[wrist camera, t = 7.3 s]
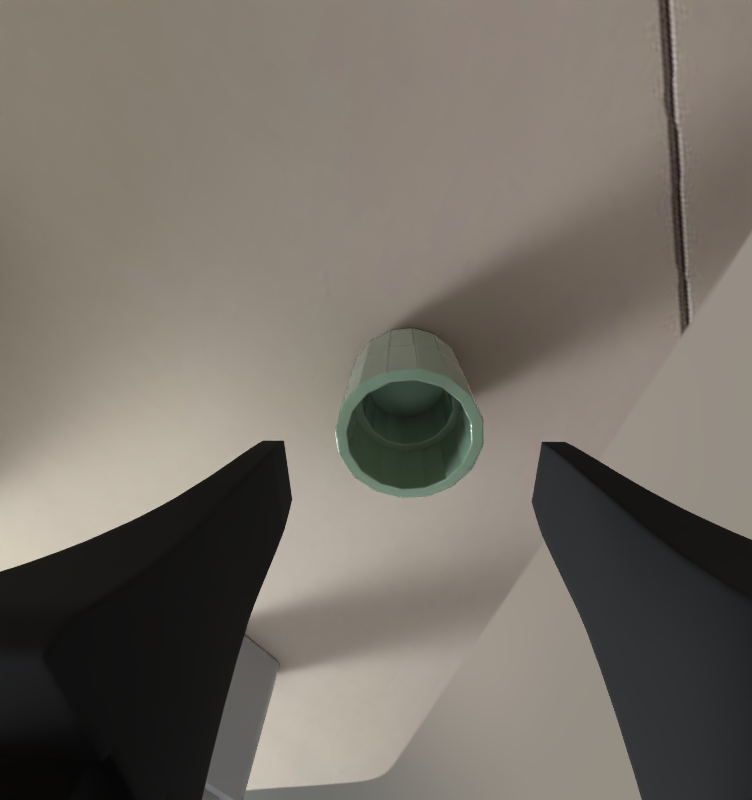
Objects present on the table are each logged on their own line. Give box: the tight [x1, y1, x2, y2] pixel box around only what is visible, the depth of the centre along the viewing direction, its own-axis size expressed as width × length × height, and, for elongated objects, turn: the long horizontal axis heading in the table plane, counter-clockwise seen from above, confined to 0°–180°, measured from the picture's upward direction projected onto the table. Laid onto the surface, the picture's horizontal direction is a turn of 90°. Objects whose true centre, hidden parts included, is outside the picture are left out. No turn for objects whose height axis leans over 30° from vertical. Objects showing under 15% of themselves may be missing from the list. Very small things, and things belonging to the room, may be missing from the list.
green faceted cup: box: [335, 328, 483, 498], centre depth 15 cm, size 5×5×6 cm
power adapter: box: [202, 635, 279, 800], centre depth 21 cm, size 3×5×12 cm, turn 38°
